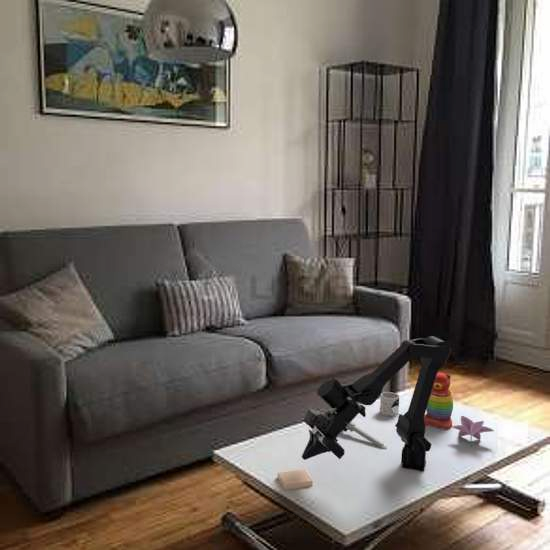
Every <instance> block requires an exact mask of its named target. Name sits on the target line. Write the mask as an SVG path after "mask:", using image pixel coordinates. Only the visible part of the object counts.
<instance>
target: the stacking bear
mask: <svg viewBox="0 0 550 550" xmlns="http://www.w3.org/2000/svg"><path fill="white" fill-rule="evenodd" d="M450 386H451V375H450V374H448V373H447V374H446V373H443V372H438V373H437V376H436V379H435V382H434V386H433V389H432V392H431V395H430V399H429V402H428V405H427V409H426V413H425V415H424V420H425V426H427V425H428V426H433V427H436V428H439V429H441V430H450V429H451V428H452V426H453V420H452V415H453V414H452V413H453V409H454V399H453V394H452V391H451V390H450V389H449V388H450Z"/></svg>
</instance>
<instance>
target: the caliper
mask: <svg viewBox="0 0 550 550" xmlns="http://www.w3.org/2000/svg"><path fill="white" fill-rule="evenodd" d="M346 428H347V429H348V430H347V431H349V432H350V433H352V432H355V433H356V434H358V435H359V436H361V437H362V438H364V439H365V440H367V441H369V442H370V443H372V444H373V445H374V446H377V447H378V446H379V447H378V448H382V449H384V450H386V449H387V446H385V444H384V442H381V441H380V440H379V439H377V438H375V437H374V436H372V435H371V434H369V433H368V432H366V431H364V430H363V429H361V428H359V427H358V426H357V425H356V424H355V423H354V422H352V421H351V422H350V423H349V425H348V426H347V427H346Z"/></svg>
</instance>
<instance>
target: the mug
mask: <svg viewBox="0 0 550 550" xmlns="http://www.w3.org/2000/svg"><path fill="white" fill-rule="evenodd" d="M379 404H380V405H379V406H380V407H379V413H380V414H381V415H383V416H385V417H396V415H397V416H399V414H400V413H399V412H400V410H399V409H400V394H398V393H395V392H391V391H385V392H382V393H381V395H380V403H379Z"/></svg>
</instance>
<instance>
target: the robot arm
mask: <svg viewBox="0 0 550 550" xmlns="http://www.w3.org/2000/svg"><path fill="white" fill-rule="evenodd" d="M451 350H452V349H451V346H450V345H449V343H447V342H446V341H444V340H442V339H440V338H438V337H436V336H432V335H431V336H426V338H415V339H405V340H403V341H402V342H401V344H400V346H399V347H397V349H395V350H394V351H393V352H392V353H391V354H390V355H388V357H387V358H386V359H385V360H384V361H383V362H381V364H380V365H378V366H377V367H376V368H375V370H374V371H372V372H371V373H368V374H365V375H363V376H361V377H359V379H357V380H356V381H354V382H353V383H350V384H346V385H342V384H341V383H340V382H339V381H338V380H337V379H336V377H332V378H331V380H330V379H329V380H326V381H325V382H323V383H322V384H320V386H319V387H318V389H317V391H316V393H317V396H318V397H319V398H320V399H321V400H322V401H323V402H324V403H325V404H327V406H328V407H330V408H331V409H333V410H332V411H330V410H329V411H326V412H325V413H322V412H320V411H318V410H315V409H312V408H308V409H307V412H306V413H305V415H304V417H303V422H304V423H305V425H306V426H309V428H310V429H308V433H309V439H308V442H307V444H306V446H305V448H304V450H303V453H302V455H301V458H302V460H304V461H305V460H308V459H311V458H314V457H316V456H319V455H322V454H324V453H330V452H331V453H332V454H333V455H335V457H337V458H338V459H339V460H341V459H342V457H343V456H344V455H345V449H344V447H342V445H341V444H340V443H339V442H338V441H339V440H338V437H339V435H340V434H341V433H342V432H345V433H346V432H347V431H349V430H348V429H347V428H346V427H347V426H348V425H349V423H350V422H352V421H353V420H354V419H355V418H356V417H357V416H358V415H359V414H360V416H362V417H363V418H366V414H367V413H366V406H372V405H373V404H374V403H375V402H376V401H377V400H378V399H379V397H381V394H382V393H383V390H384V387H385V385H386V384H387V383H388V382H389V381H390V380H391V379H392V378H393V377H394V376H395V375H397V373H398V372H399V371H401V370H402V369H403V368H404V367H405V366H406V365H407V364H408V363H409V362H410V361H411V360H412V359H413V358H415V357H416V358H417V357H420V362H421V366H420V371H419V373H418V377H417V380H416V383H415V387H414V390H413V392H412V396H411V399H410V402H409V407H408V409H407V411H406V412H405V413H404V414H402V413H399V414H398V415H397V416H398V417H397V422H396V423H395V426H394V427H396V430H395V431H396V434H397V436H399V438H400V440H401V442H403V443H404V446H403V447H402V449H401V462H400V463H401V464H402V465H401V468H403V469H408V470H413V471H419V472H425V469H426V465H427V460H426V459H427V456H426V455H427V452H430V450H431V448H432V443H431V442H430V441H429V440H428V439H427V438H426V437H425V436H426V435H425V434H426V425H425V420H424V415H425V414H426V413H427V411H426V409H427V405H428V402H429V399H430V395H431V392H432V389H433V386H434V382H435V379H436V376H437V373H439V371H440V370H441V368H443V367H444V365H445V364H446V363H447V360H448V358H449V357H450V355H451ZM349 398H350V399H349ZM359 403H360V404H359Z"/></svg>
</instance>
